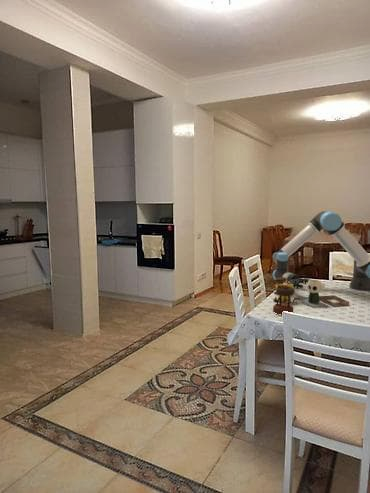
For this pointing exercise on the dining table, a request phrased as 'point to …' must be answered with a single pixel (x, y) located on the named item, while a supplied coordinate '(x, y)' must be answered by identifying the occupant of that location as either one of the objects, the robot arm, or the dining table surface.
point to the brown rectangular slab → (340, 303)
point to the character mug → (314, 290)
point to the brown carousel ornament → (288, 286)
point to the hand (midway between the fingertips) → (315, 286)
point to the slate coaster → (314, 303)
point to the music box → (284, 292)
